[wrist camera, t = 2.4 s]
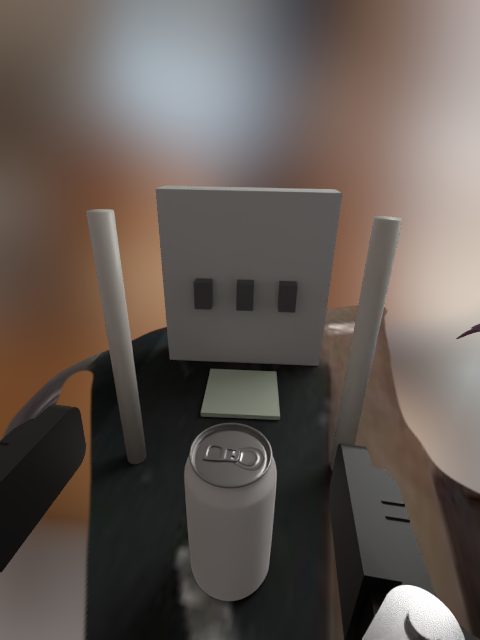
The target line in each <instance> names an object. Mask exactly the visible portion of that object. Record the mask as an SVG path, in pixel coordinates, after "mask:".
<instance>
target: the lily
mask: <svg viewBox="0 0 480 640" xmlns="http://www.w3.org/2000/svg"><path fill="white" fill-rule="evenodd" d="M475 332H480V324H478V325H476V326H473V327H472V329H471V330H469V331H467V332H465V333H463V334H462V335H461V336H459V337H458V338H457V339H459V338H461V337H464V336H466V335H469V334H472V333H475Z"/></svg>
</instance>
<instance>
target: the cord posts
mask: <svg viewBox="0 0 480 640" xmlns="http://www.w3.org/2000/svg"><path fill="white" fill-rule="evenodd" d="M87 219H88V225H89V231H90V237H91V243H92V249H93V254H94V261H95V267H96V273H97V279H98V284H99V291H100V297H101V302H102V309H103V314H104V320H105V327H106V332H107V339H108V344H109V351H110V357H111V363H112V369H113V374H114V380H115V386H116V392H117V398H118V404H119V410H120V416H121V422H122V428H123V434H124V440H125V446H126V452H127V458H128V462H129V463H131V464H139V463H142V462H143V461H144V460H145V459H146V456H147V455H146V447H145V440H144V432H143V425H142V417H141V410H140V402H139V395H138V387H137V380H136V373H135V365H134V358H133V350H132V343H131V335H130V328H129V321H128V313H127V305H126V298H125V290H124V283H123V276H122V268H121V261H120V253H119V246H118V238H117V231H116V223H115V216H114V210H109V209H96V210H89V211H87ZM401 224H402V219H401V218H397V217H388V216H377V217H374V221H373V226H372V232H371V238H370V243H369V249H368V254H367V260H366V266H365V271H364V277H363V282H362V288H361V294H360V299H359V305H358V310H357V316H356V322H355V327H354V333H353V339H352V344H351V350H350V355H349V361H348V367H347V372H346V378H345V383H344V389H343V395H342V400H341V406H340V412H339V417H338V423H337V428H336V434H335V440H334V445H333V451H332V456H331V462H330V468H331V470H332V471H333V467H334V462H335V457H336V452H337V447H338V445H339V444H347V445H355V440H356V436H357V431H358V426H359V422H360V417H361V412H362V407H363V403H364V398H365V393H366V389H367V384H368V379H369V375H370V370H371V365H372V360H373V356H374V351H375V346H376V342H377V337H378V332H379V328H380V323H381V318H382V313H383V309H384V304H385V299H386V294H387V290H388V285H389V280H390V276H391V271H392V266H393V261H394V257H395V252H396V248H397V243H398V238H399V234H400V229H401Z"/></svg>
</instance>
